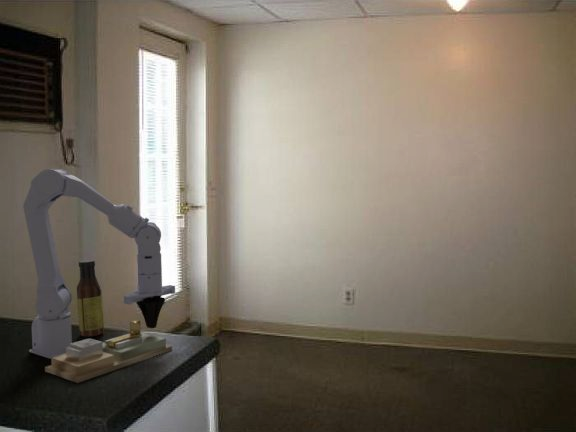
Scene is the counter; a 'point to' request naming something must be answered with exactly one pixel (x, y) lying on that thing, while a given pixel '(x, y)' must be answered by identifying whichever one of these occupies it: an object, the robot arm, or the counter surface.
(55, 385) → the counter surface
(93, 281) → the sauce bottle
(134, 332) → the bolt
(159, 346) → the door and jamb
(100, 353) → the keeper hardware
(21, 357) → the counter surface
